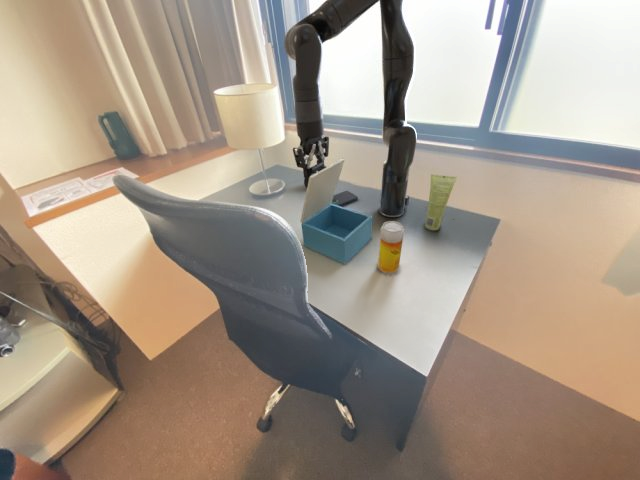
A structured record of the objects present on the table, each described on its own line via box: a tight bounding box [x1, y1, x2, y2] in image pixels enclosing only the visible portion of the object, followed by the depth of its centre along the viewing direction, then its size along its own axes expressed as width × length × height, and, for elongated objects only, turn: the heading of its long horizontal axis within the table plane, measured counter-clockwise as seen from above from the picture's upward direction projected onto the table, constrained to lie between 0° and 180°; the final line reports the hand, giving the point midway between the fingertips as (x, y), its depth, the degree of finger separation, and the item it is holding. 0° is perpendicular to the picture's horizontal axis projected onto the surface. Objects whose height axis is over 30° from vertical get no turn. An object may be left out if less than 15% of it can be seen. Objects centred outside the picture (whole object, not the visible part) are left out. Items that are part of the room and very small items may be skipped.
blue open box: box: [300, 204, 373, 265], centre depth 91 cm, size 17×16×9 cm
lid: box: [300, 158, 345, 224], centre depth 86 cm, size 18×16×5 cm
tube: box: [424, 173, 458, 231], centre depth 91 cm, size 6×5×20 cm
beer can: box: [377, 220, 405, 275], centre depth 77 cm, size 6×6×15 cm
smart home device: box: [317, 190, 359, 213], centre depth 114 cm, size 8×2×20 cm
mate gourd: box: [303, 171, 318, 189], centre depth 126 cm, size 7×8×10 cm
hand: (314, 175), depth 84 cm, fingers closed on lid, 5 cm apart
